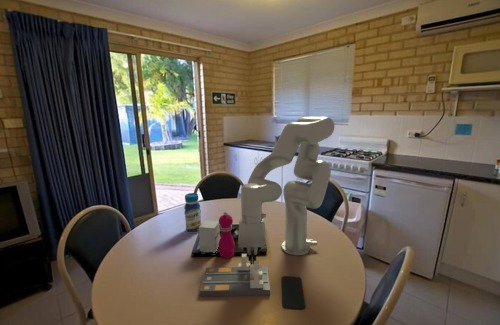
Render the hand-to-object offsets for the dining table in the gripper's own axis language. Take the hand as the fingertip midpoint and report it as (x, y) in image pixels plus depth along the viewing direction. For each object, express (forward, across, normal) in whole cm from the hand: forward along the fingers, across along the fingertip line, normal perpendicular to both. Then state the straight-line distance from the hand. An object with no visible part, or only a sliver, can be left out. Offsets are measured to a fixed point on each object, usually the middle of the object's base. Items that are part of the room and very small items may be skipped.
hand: (252, 262), depth 92 cm
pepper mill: (+6, +11, -14) cm, 19 cm away
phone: (+6, -14, +10) cm, 18 cm away
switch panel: (+5, +6, +5) cm, 9 cm away
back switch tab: (+3, +3, 0) cm, 4 cm away
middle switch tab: (+3, -1, +5) cm, 6 cm away
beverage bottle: (+5, +31, -37) cm, 49 cm away
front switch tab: (+3, -1, +9) cm, 10 cm away
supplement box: (+6, +19, -18) cm, 27 cm away
